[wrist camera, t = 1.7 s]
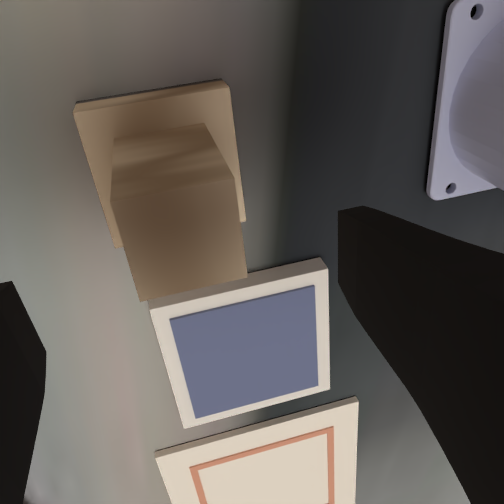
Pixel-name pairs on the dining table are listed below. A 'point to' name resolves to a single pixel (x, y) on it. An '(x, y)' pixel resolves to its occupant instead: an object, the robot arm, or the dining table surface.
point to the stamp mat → (270, 461)
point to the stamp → (169, 183)
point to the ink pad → (246, 341)
